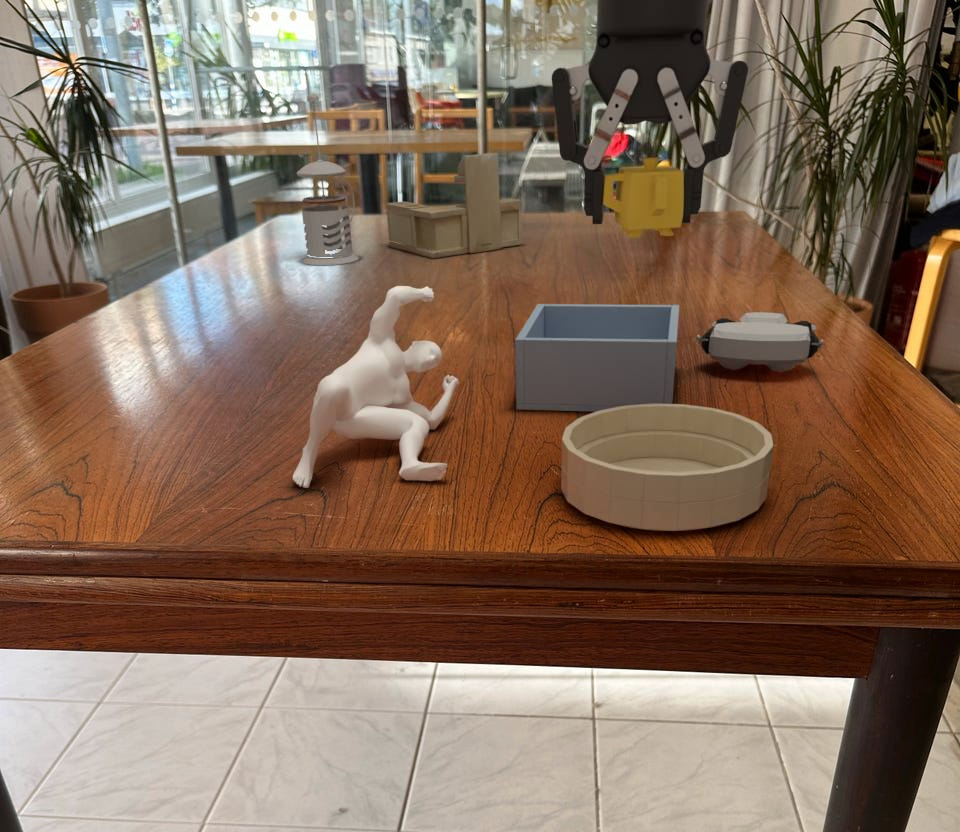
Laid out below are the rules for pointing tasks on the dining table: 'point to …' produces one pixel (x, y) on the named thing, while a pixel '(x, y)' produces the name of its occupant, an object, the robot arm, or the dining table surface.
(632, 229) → the teapot
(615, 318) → the bin
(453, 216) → the toy kitchen set
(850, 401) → the dining table surface
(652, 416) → the bowl
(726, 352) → the robot toy
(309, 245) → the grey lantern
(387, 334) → the person figurine
